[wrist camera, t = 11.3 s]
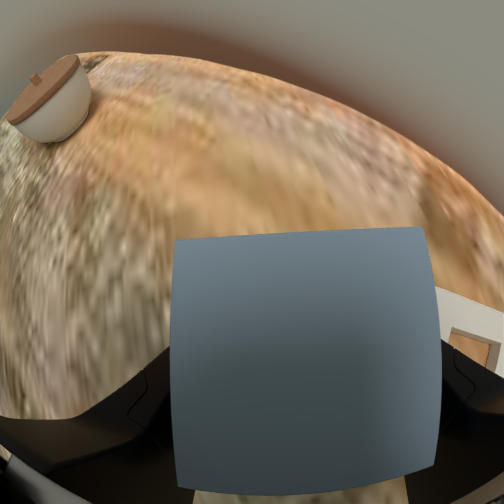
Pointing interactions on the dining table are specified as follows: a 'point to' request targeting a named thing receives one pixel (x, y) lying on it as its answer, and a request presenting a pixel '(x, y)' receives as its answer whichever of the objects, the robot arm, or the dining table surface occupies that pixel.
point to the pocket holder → (472, 325)
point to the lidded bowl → (53, 102)
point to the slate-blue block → (303, 360)
